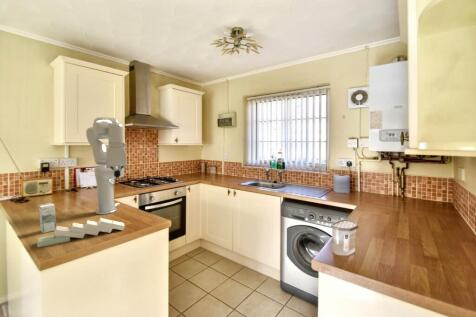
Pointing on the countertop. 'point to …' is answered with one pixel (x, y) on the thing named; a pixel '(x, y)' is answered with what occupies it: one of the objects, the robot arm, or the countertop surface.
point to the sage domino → (51, 240)
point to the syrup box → (47, 217)
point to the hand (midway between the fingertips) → (117, 177)
